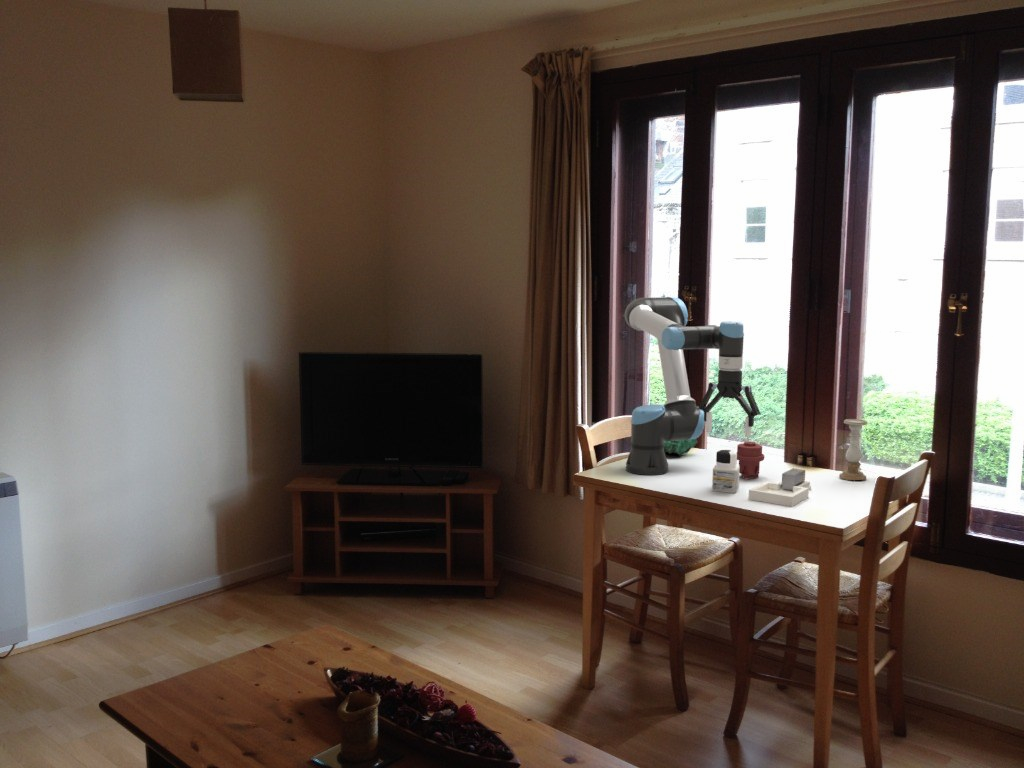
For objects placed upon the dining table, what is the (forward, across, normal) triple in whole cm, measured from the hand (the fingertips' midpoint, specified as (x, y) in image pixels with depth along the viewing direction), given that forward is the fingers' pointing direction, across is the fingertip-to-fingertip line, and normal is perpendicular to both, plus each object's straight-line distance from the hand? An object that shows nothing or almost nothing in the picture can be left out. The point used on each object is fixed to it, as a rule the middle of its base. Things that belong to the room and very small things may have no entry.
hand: (728, 434), depth 290 cm
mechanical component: (+19, -1, +21) cm, 28 cm away
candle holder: (+19, +28, +42) cm, 54 cm away
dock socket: (+19, +18, +5) cm, 26 cm away
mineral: (+19, -39, +40) cm, 59 cm away
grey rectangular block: (+17, +18, +12) cm, 28 cm away
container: (+19, 0, 0) cm, 19 cm away
